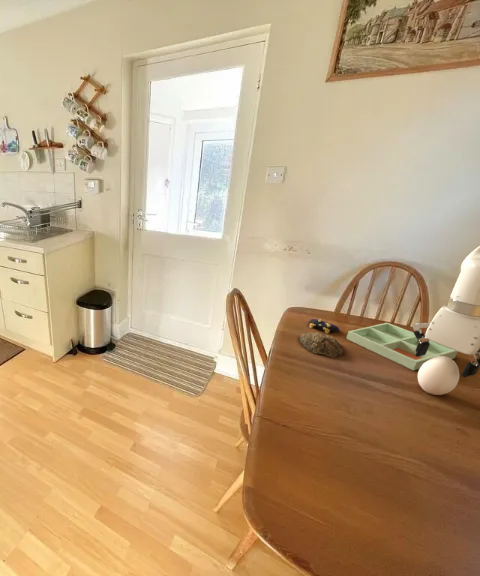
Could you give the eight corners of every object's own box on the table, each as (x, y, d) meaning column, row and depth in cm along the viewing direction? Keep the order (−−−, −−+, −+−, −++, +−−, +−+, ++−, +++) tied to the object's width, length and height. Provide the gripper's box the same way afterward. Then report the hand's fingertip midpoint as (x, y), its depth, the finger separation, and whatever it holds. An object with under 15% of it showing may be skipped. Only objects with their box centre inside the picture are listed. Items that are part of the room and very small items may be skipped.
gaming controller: (340, 329, 120) (338, 322, 116) (333, 340, 119) (331, 334, 116) (312, 319, 127) (310, 313, 124) (306, 330, 127) (303, 324, 123)
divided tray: (384, 330, 120) (387, 322, 119) (454, 359, 102) (458, 349, 101) (345, 339, 115) (348, 331, 113) (412, 371, 96) (417, 362, 95)
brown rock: (296, 336, 117) (299, 324, 116) (336, 342, 113) (339, 330, 111) (304, 354, 106) (307, 341, 104) (348, 361, 102) (352, 348, 100)
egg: (439, 387, 89) (456, 352, 85) (456, 404, 83) (474, 367, 79) (406, 381, 92) (421, 347, 88) (420, 398, 86) (436, 362, 81)
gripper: (530, 320, 71) (496, 381, 78) (434, 293, 87) (412, 346, 93) (511, 325, 69) (478, 388, 75) (416, 296, 85) (395, 350, 91)
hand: (441, 365), depth 84 cm, fingers open, 9 cm apart
